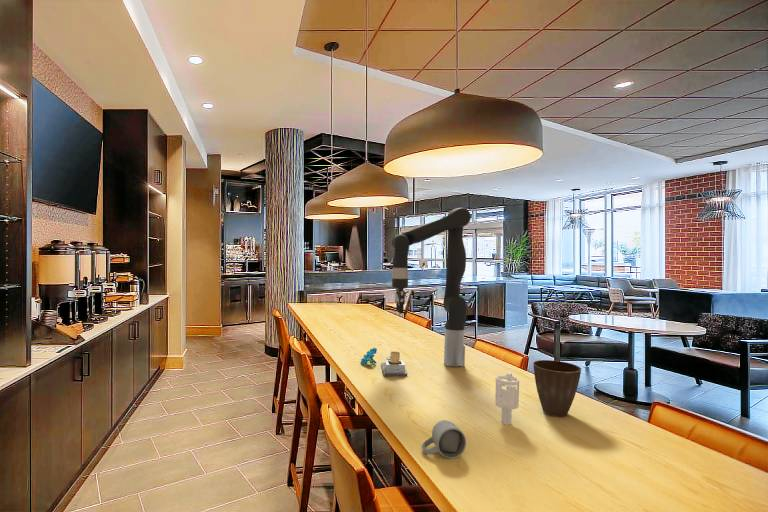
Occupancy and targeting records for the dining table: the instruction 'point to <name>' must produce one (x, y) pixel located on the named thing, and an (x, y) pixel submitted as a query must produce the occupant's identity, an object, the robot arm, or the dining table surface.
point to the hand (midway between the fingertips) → (399, 312)
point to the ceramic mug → (446, 440)
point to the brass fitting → (395, 357)
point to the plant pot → (556, 385)
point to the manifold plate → (393, 368)
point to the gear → (369, 357)
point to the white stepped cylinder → (507, 396)
